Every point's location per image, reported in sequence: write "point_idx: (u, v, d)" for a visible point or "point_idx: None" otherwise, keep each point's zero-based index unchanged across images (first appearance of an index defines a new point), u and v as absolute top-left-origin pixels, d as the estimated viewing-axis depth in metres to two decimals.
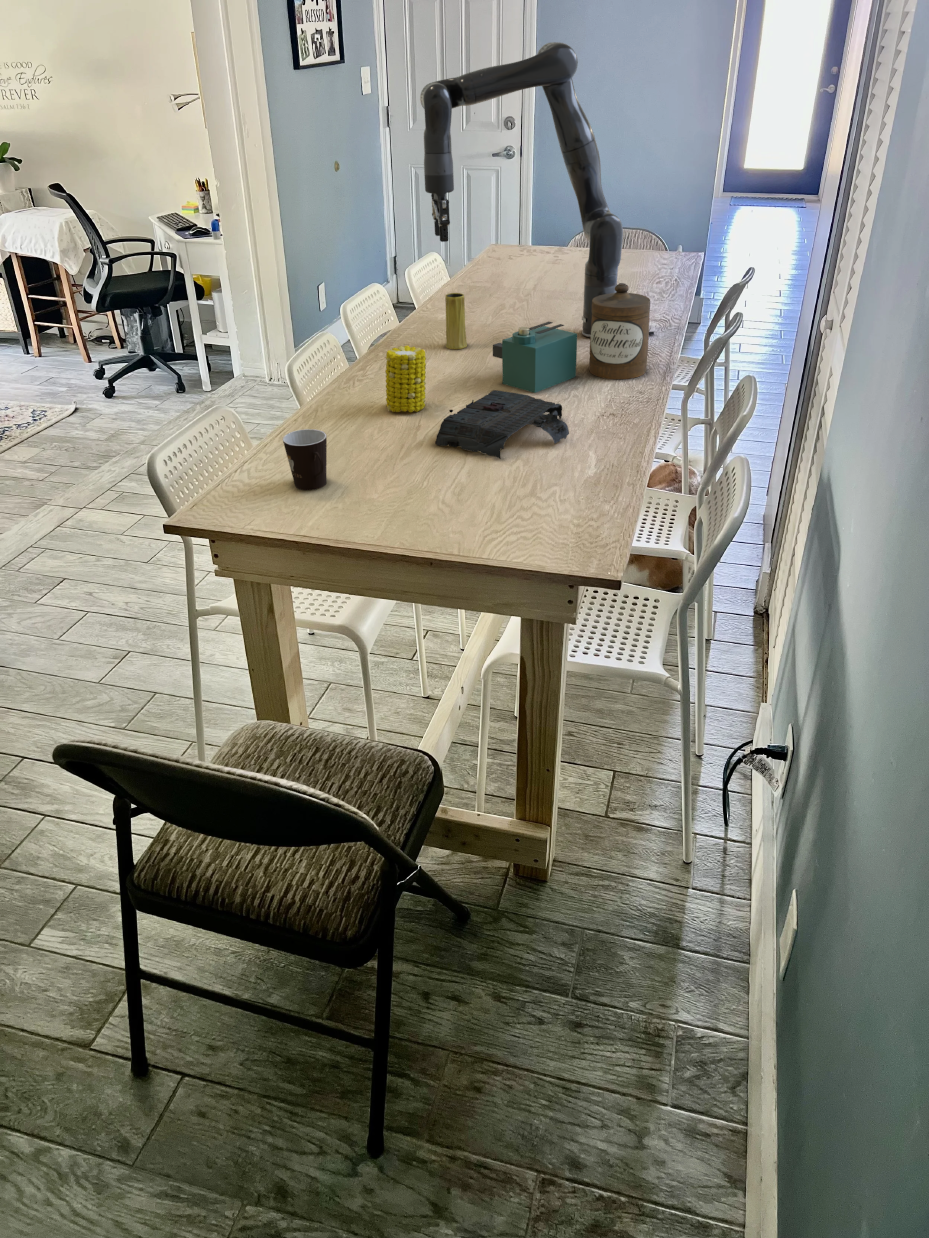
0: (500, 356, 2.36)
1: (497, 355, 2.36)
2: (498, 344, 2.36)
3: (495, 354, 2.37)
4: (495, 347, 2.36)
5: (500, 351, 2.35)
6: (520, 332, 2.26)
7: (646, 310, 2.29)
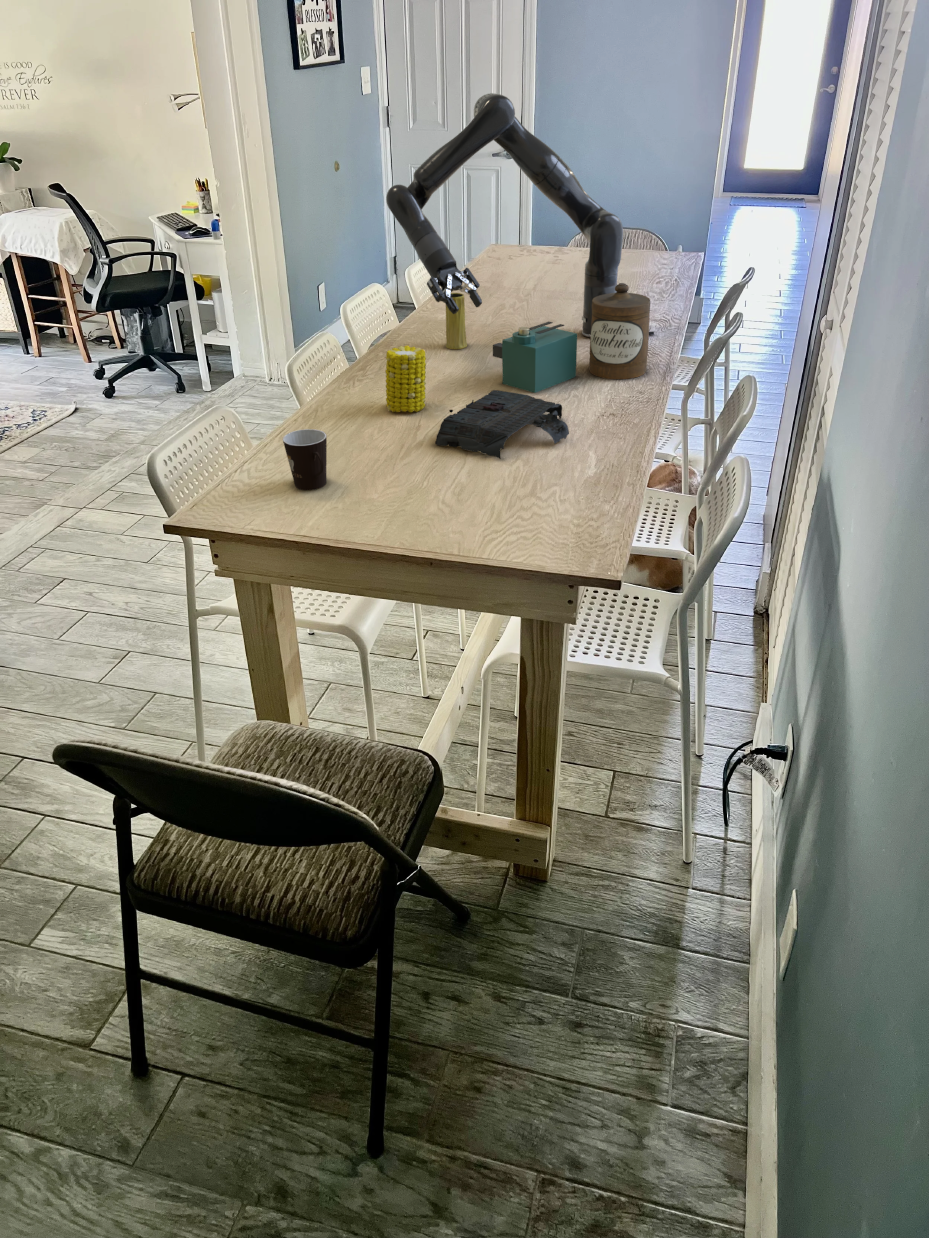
0: (500, 356, 2.36)
1: (497, 355, 2.36)
2: (498, 344, 2.36)
3: (495, 354, 2.37)
4: (495, 347, 2.36)
5: (500, 351, 2.35)
6: (520, 332, 2.26)
7: (646, 310, 2.29)
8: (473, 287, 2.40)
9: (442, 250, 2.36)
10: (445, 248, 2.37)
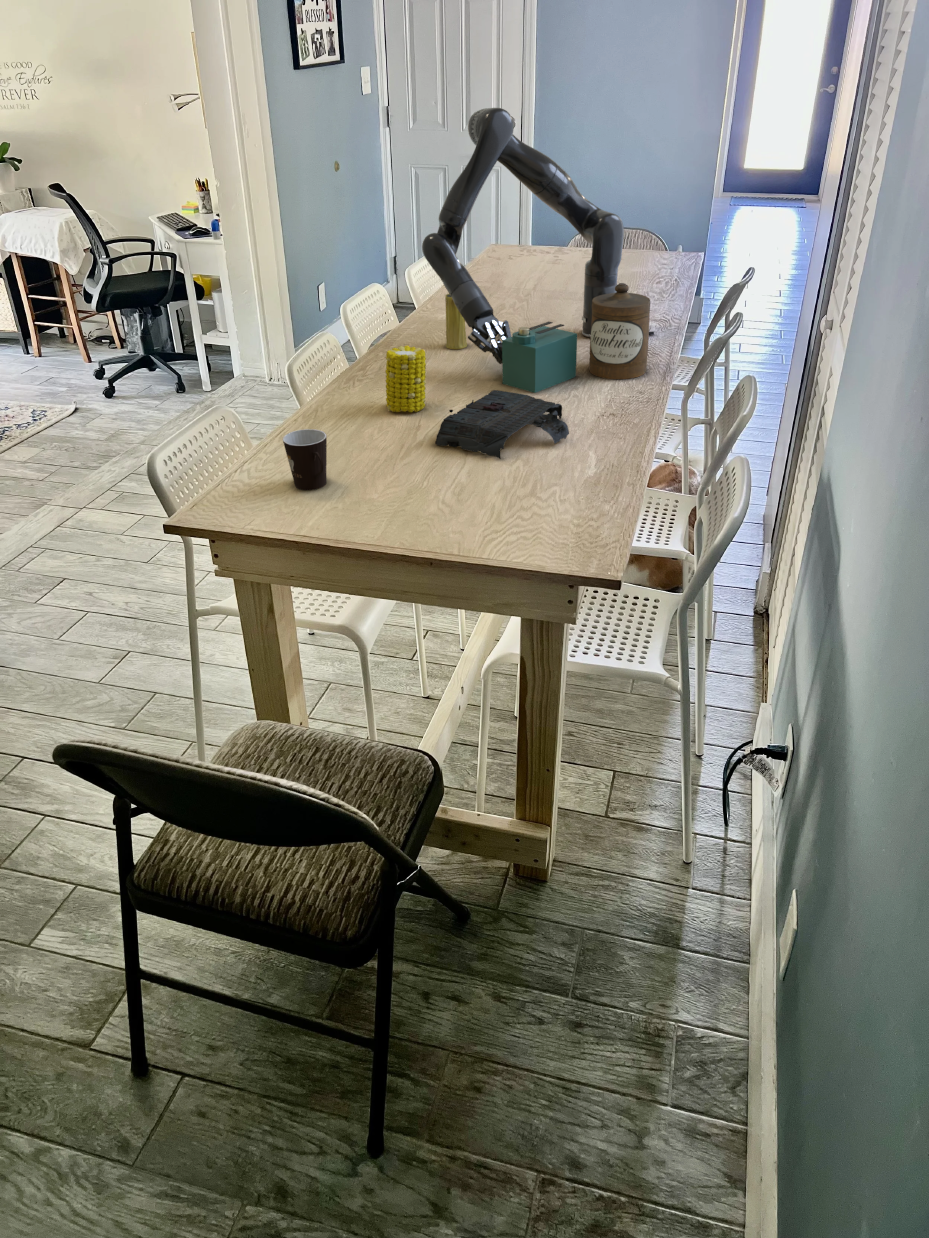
0: None
1: None
2: (498, 344, 2.36)
3: None
4: None
5: None
6: (520, 332, 2.26)
7: (646, 310, 2.29)
8: None
9: (479, 298, 2.34)
10: (482, 296, 2.35)
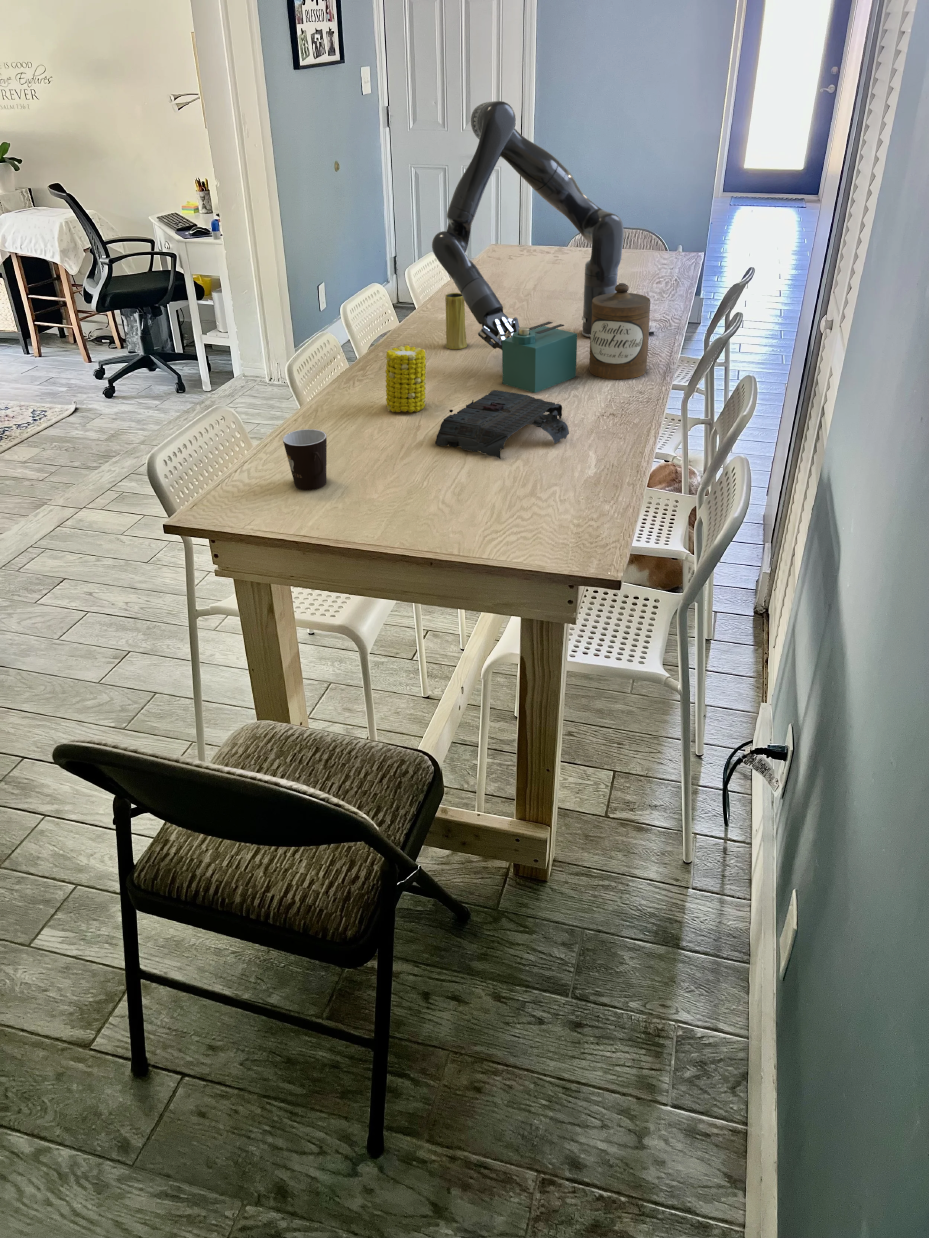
0: None
1: None
2: None
3: None
4: None
5: None
6: (520, 332, 2.26)
7: (646, 310, 2.29)
8: None
9: (489, 296, 2.36)
10: (492, 293, 2.37)
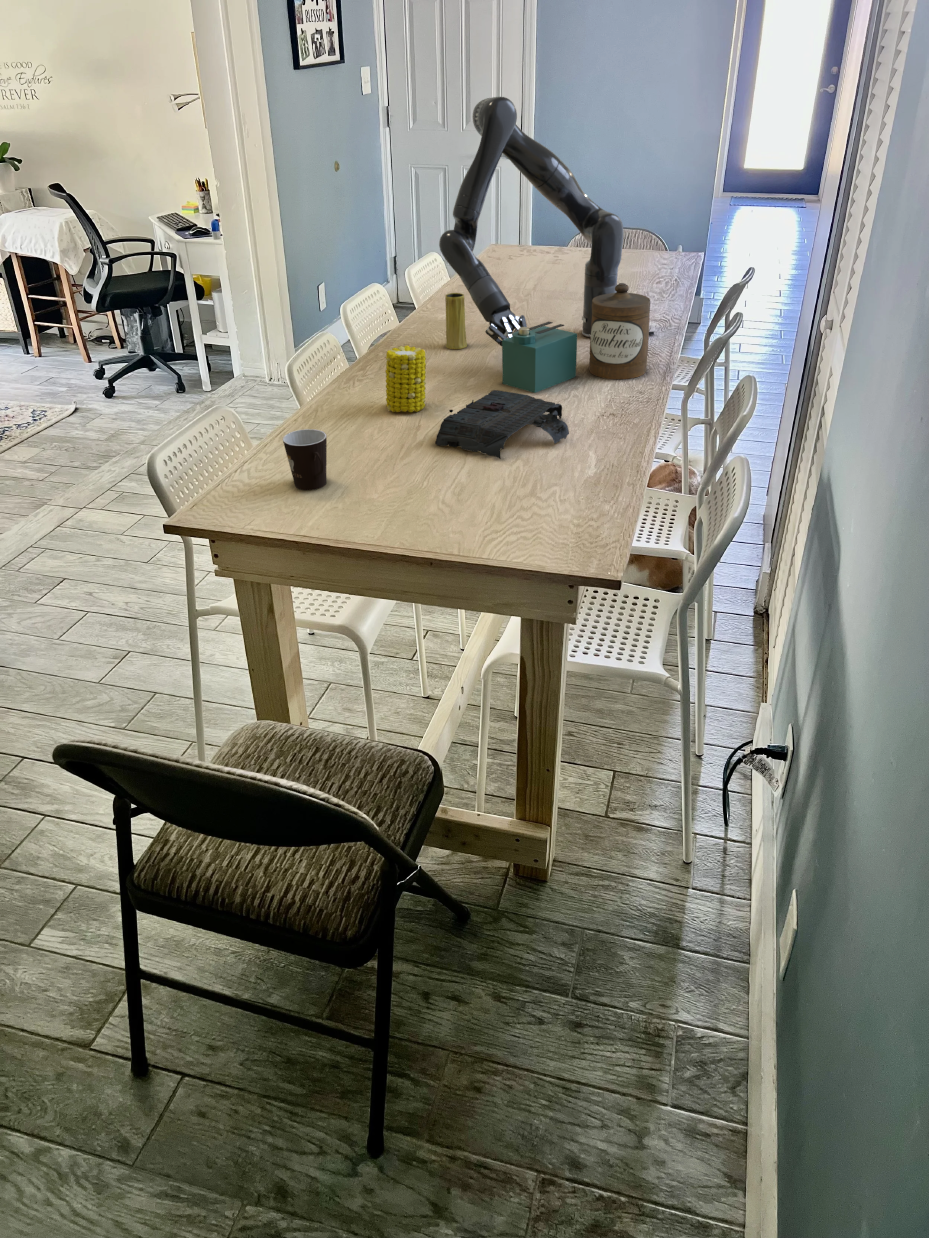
0: None
1: None
2: None
3: None
4: None
5: None
6: (520, 332, 2.26)
7: (646, 310, 2.29)
8: None
9: (497, 293, 2.37)
10: (499, 291, 2.38)
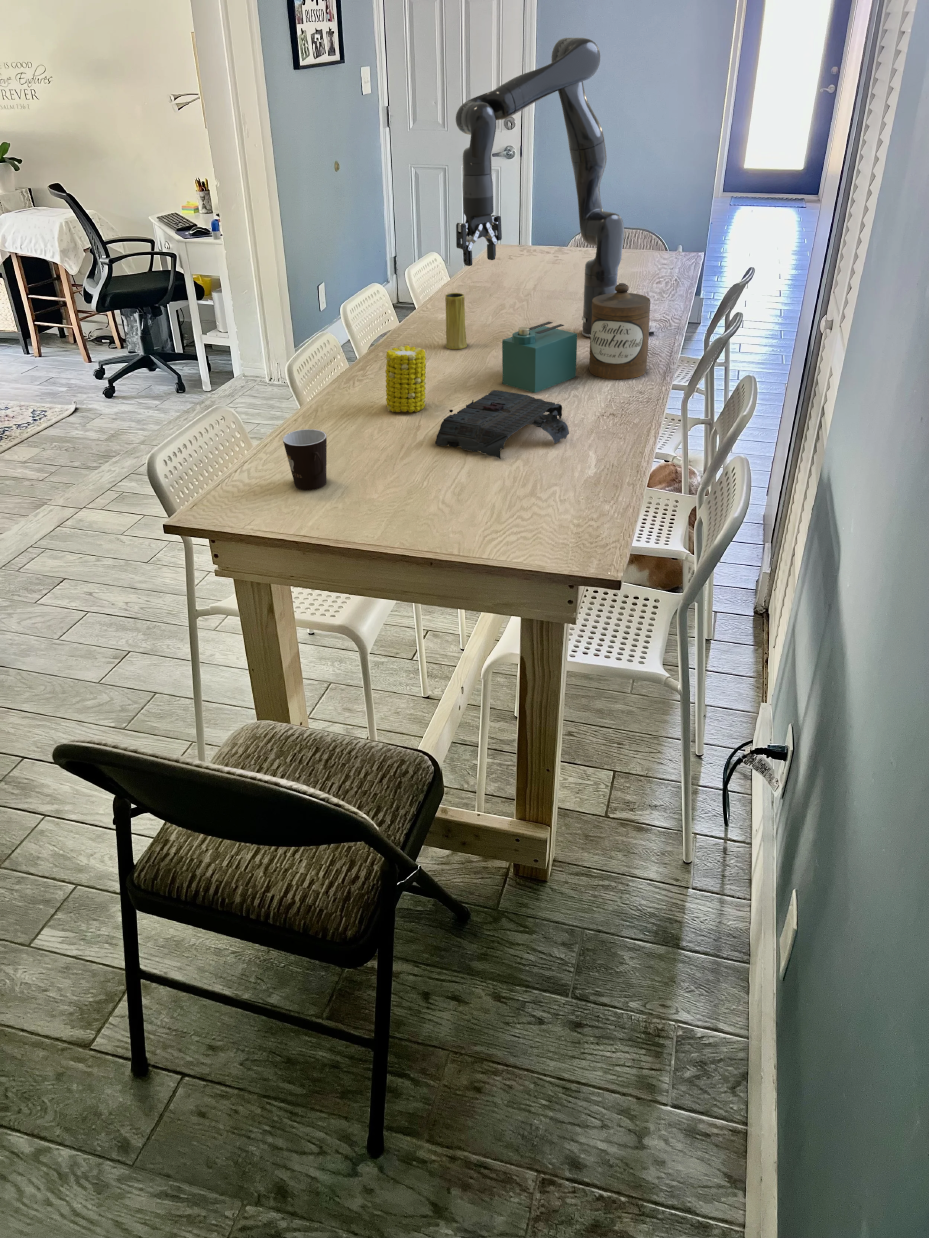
0: None
1: None
2: None
3: None
4: None
5: None
6: (520, 332, 2.26)
7: (646, 310, 2.29)
8: (495, 241, 2.38)
9: (487, 200, 2.27)
10: (490, 197, 2.28)
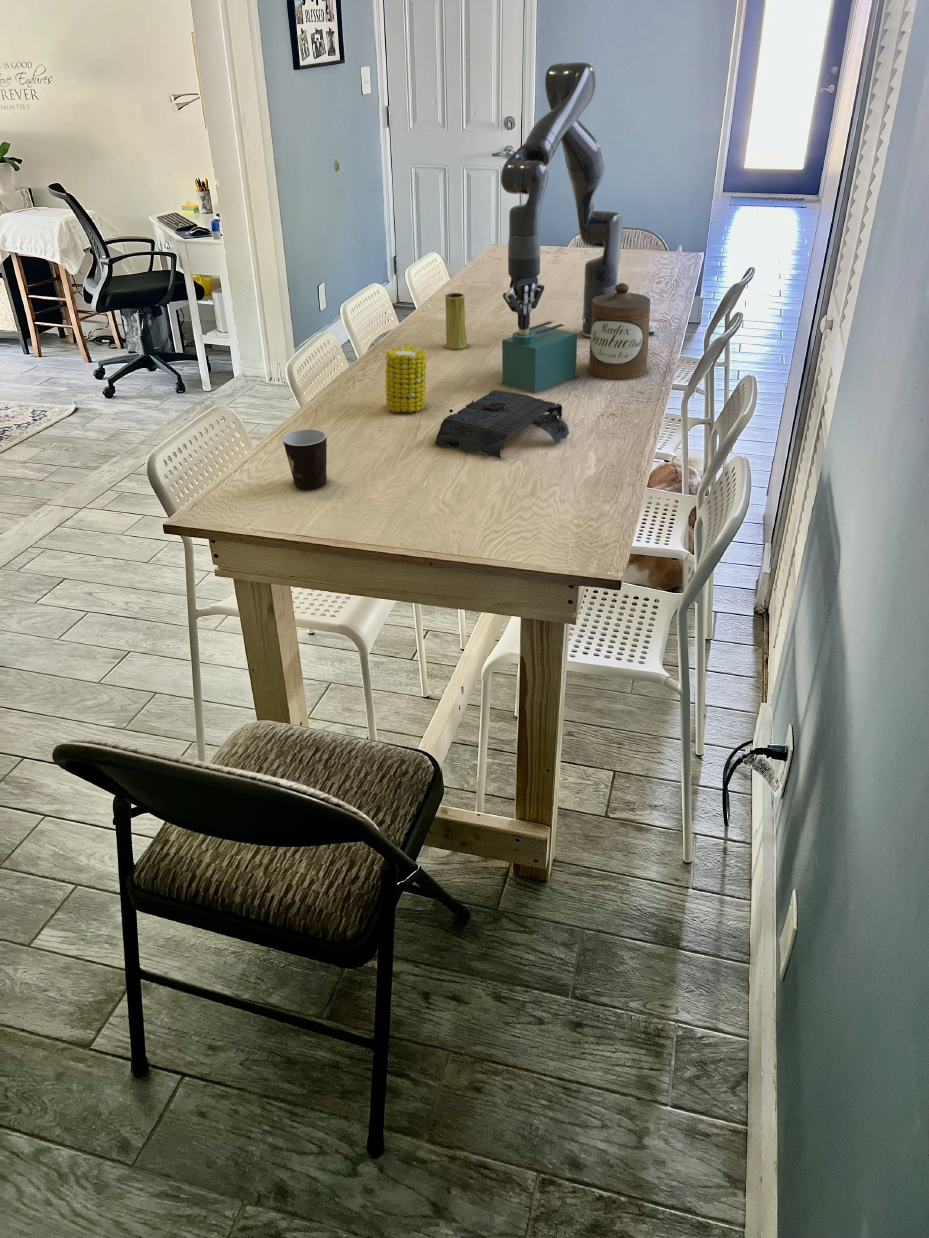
0: None
1: None
2: None
3: None
4: None
5: None
6: (520, 332, 2.26)
7: (646, 310, 2.29)
8: (529, 309, 2.24)
9: (534, 261, 2.15)
10: (538, 258, 2.16)
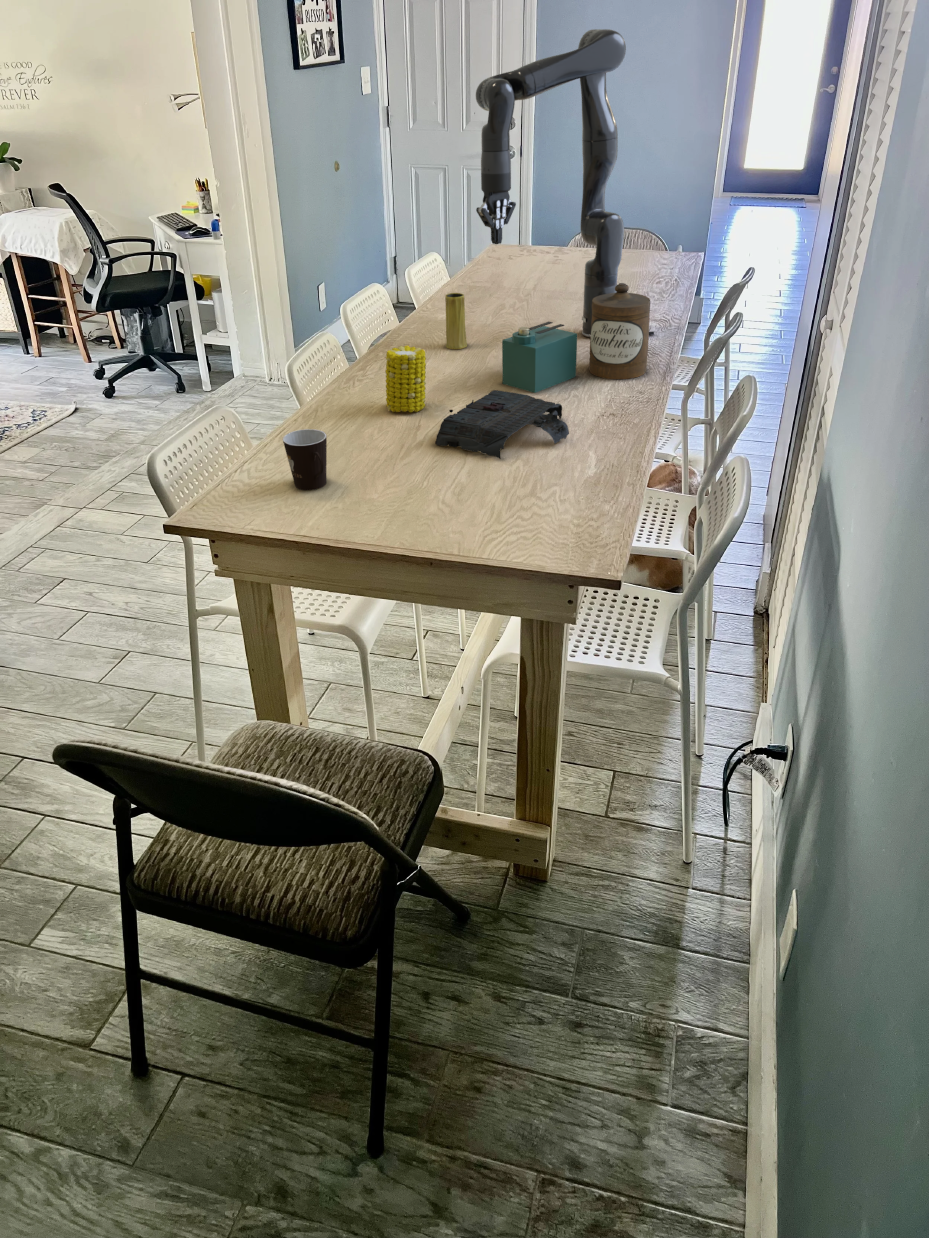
0: None
1: None
2: None
3: None
4: None
5: None
6: (520, 332, 2.26)
7: (646, 310, 2.29)
8: (502, 224, 2.39)
9: (505, 176, 2.30)
10: (508, 173, 2.31)
